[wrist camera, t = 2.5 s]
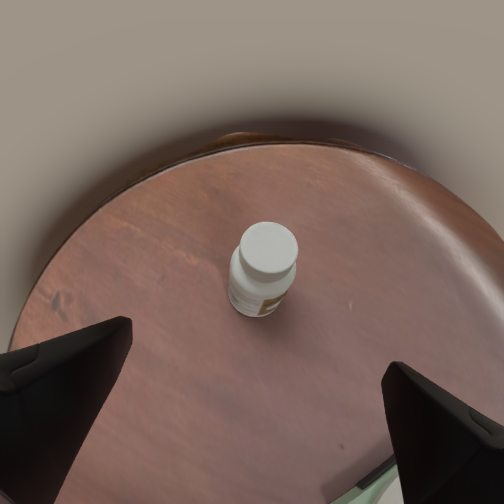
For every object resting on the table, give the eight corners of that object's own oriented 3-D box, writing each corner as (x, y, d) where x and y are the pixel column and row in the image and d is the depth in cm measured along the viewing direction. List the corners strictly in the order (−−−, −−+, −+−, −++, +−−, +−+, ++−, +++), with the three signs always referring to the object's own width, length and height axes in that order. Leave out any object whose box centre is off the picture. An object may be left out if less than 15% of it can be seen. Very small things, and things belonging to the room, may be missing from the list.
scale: (464, 491, 15) (480, 494, 13) (377, 568, 11) (389, 577, 9) (429, 417, 19) (447, 416, 17) (324, 502, 16) (335, 511, 13)
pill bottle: (270, 326, 22) (294, 293, 16) (219, 305, 23) (219, 262, 16) (288, 279, 25) (315, 230, 18) (240, 260, 25) (248, 204, 18)
